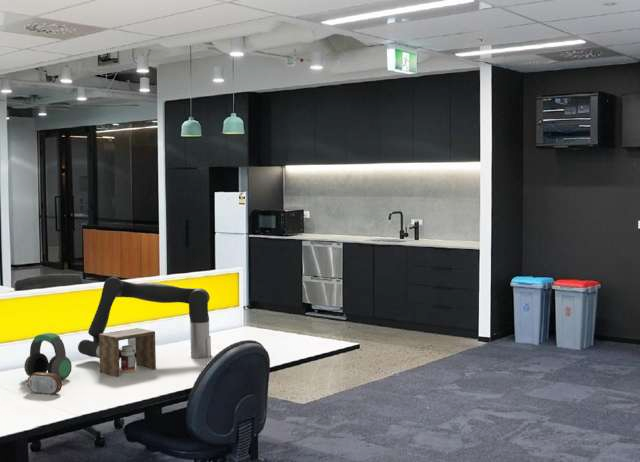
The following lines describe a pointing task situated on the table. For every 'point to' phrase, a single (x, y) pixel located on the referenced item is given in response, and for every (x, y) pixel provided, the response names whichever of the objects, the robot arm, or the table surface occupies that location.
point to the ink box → (132, 343)
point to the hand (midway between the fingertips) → (127, 356)
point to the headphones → (40, 362)
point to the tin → (44, 383)
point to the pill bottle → (127, 359)
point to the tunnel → (111, 349)
